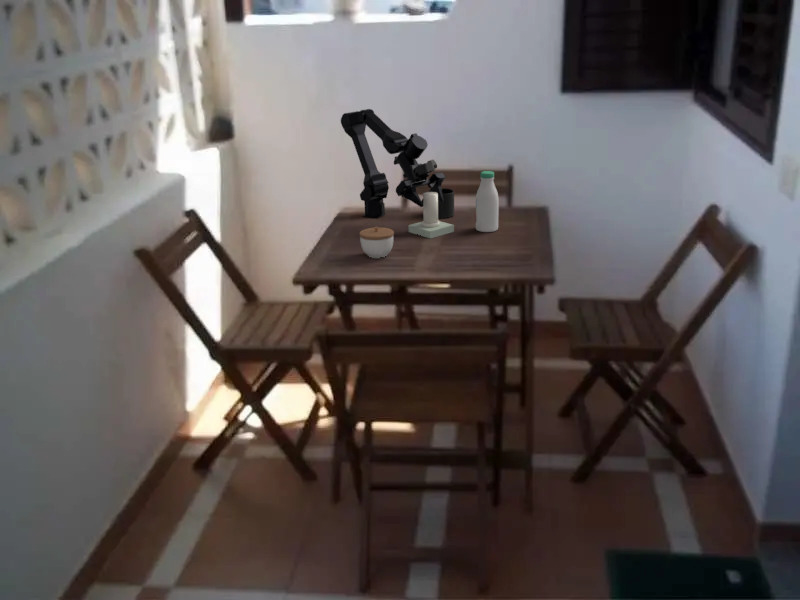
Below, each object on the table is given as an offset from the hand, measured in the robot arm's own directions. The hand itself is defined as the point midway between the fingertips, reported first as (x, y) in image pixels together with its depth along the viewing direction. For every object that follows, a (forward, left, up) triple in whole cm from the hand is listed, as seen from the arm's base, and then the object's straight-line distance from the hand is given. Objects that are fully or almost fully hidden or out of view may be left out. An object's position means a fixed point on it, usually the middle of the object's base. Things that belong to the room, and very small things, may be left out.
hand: (432, 204), depth 295 cm
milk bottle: (+16, +9, -10) cm, 21 cm away
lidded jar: (-7, -30, -10) cm, 32 cm away
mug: (-7, +21, -10) cm, 25 cm away
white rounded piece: (-1, 0, -8) cm, 8 cm away
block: (-1, 0, -10) cm, 10 cm away
